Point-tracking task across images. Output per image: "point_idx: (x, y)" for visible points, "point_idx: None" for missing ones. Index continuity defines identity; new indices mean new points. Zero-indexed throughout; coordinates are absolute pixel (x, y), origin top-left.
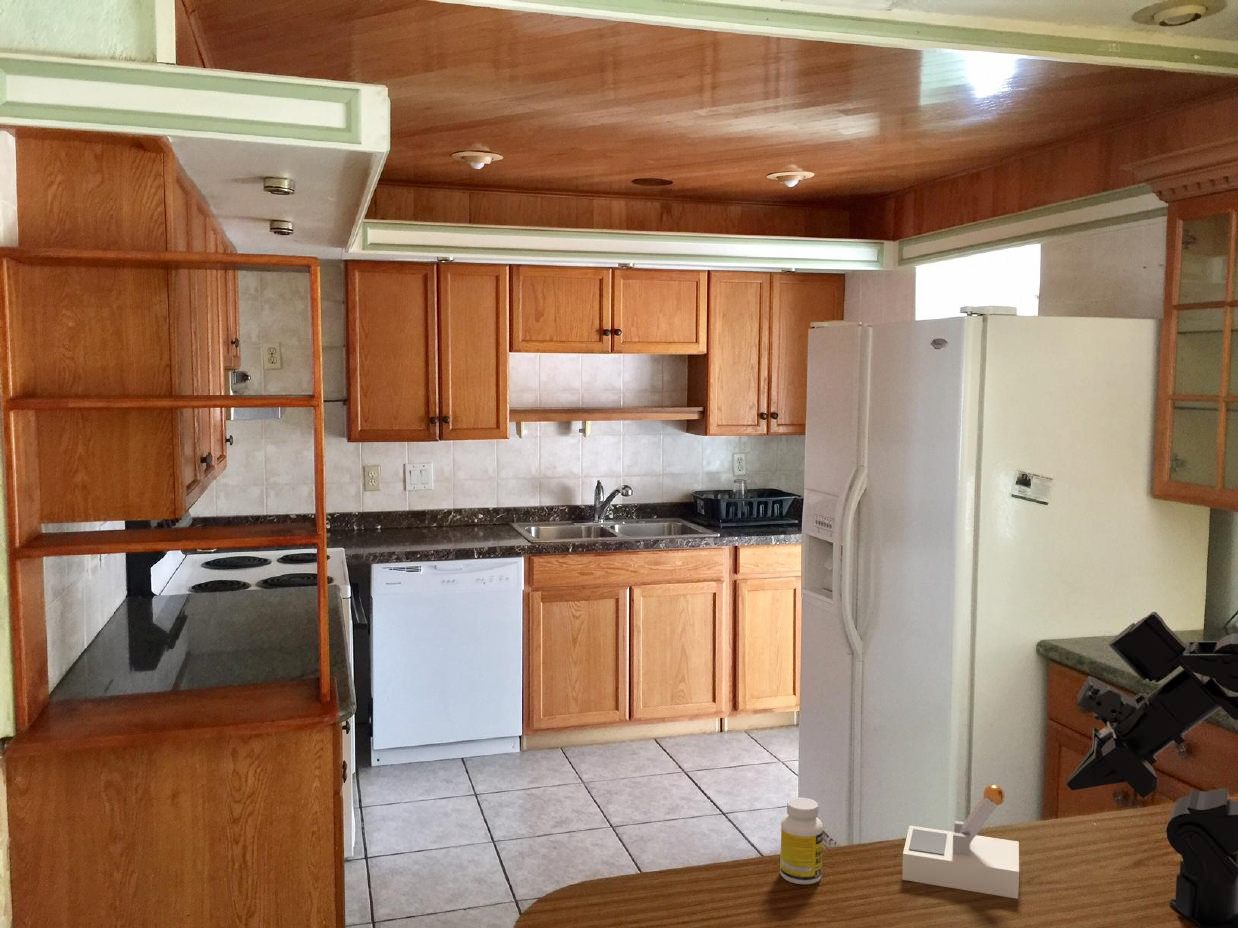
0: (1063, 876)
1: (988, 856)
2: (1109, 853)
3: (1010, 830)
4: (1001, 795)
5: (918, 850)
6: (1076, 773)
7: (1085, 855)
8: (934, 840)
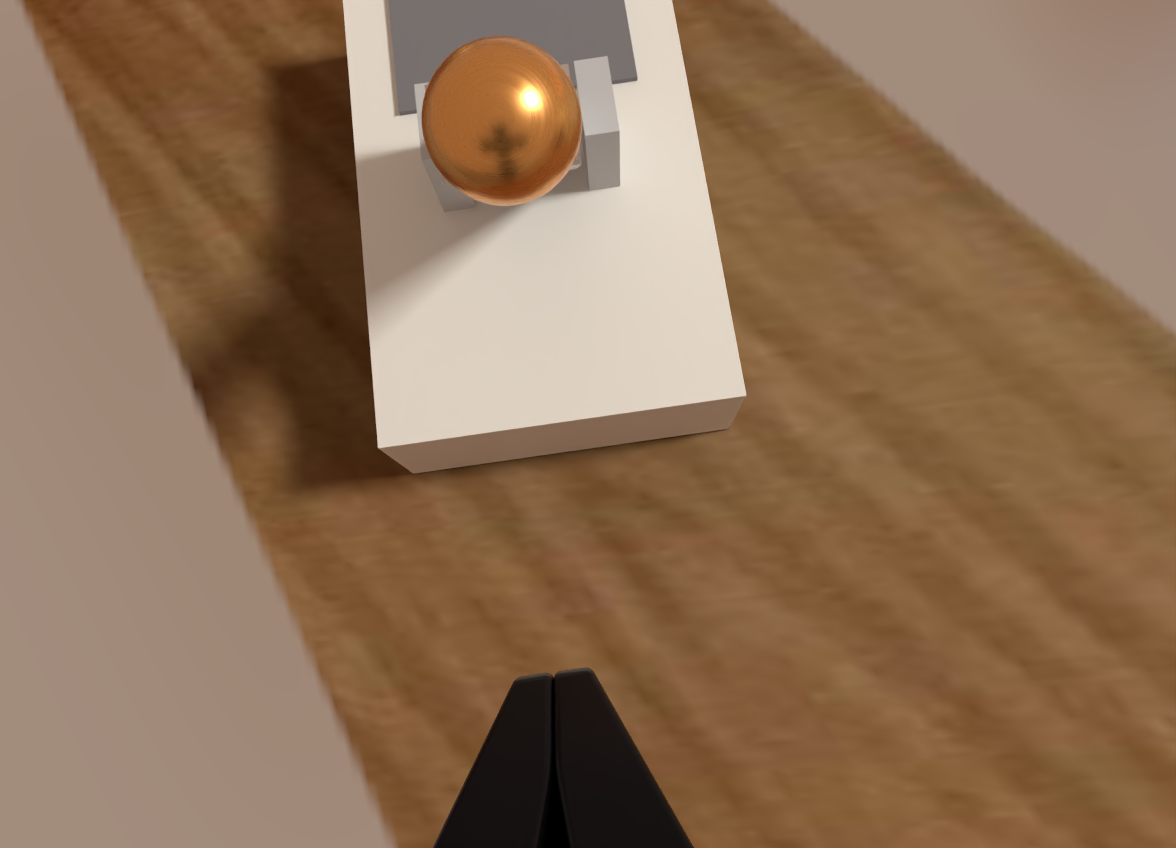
0: (740, 633)
1: (486, 291)
2: (1157, 834)
3: (1126, 339)
4: (455, 166)
5: (389, 12)
6: (476, 823)
7: (1051, 714)
8: None
